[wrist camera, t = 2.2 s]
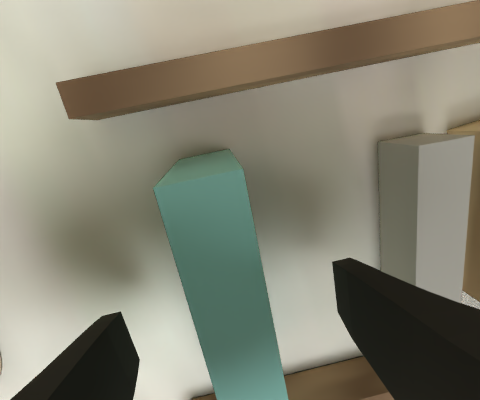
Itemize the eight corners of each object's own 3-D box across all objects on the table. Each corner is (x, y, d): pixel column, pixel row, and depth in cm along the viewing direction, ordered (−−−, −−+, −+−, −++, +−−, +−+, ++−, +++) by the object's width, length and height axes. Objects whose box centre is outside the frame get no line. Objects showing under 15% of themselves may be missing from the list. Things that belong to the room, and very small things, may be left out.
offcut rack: (559, -3, 10) (639, -32, 8) (516, 332, 15) (561, 363, 13) (87, 90, 9) (55, 82, 8) (196, 413, 14) (193, 458, 12)
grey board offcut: (419, 132, 11) (474, 135, 9) (415, 291, 14) (459, 327, 11) (374, 141, 11) (419, 145, 9) (378, 299, 14) (414, 337, 11)
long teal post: (228, 148, 11) (243, 169, 6) (269, 345, 14) (301, 466, 9) (179, 159, 11) (153, 188, 6) (231, 354, 13) (241, 481, 9)
